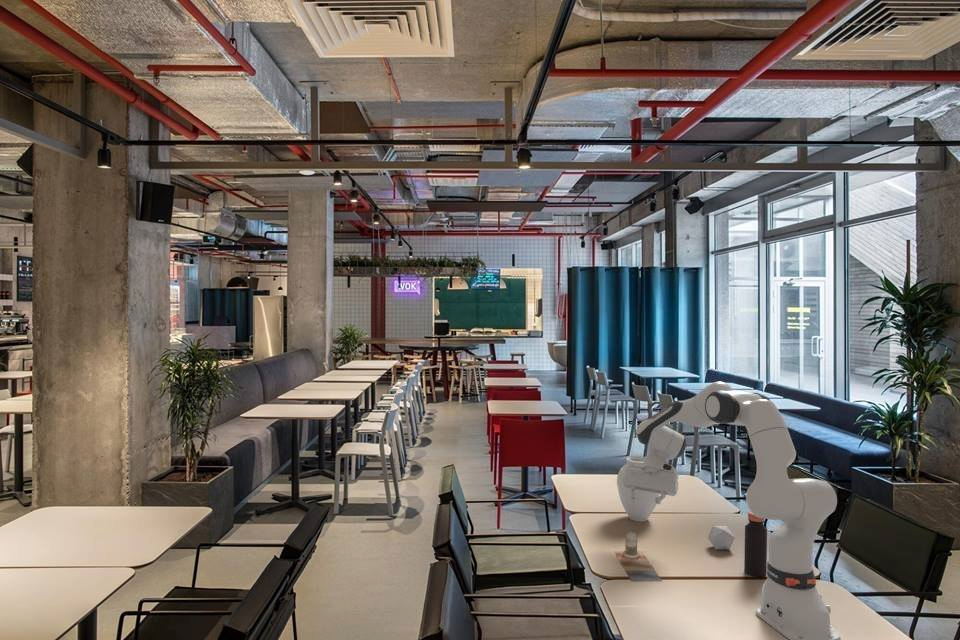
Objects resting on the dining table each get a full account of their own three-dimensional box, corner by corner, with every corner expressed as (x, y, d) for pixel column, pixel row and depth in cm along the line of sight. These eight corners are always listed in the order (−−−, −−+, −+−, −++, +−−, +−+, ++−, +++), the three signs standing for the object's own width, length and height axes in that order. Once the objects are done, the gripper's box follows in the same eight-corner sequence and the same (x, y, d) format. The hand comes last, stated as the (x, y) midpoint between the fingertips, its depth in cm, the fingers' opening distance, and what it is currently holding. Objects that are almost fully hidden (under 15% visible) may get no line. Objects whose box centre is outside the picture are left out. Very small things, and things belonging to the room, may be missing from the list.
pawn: (641, 559, 215) (641, 534, 215) (625, 559, 215) (625, 534, 214) (637, 552, 220) (637, 528, 220) (621, 552, 220) (621, 528, 220)
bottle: (739, 570, 207) (740, 510, 206) (755, 567, 209) (756, 508, 209) (755, 578, 201) (756, 517, 200) (771, 575, 203) (772, 515, 203)
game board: (662, 582, 198) (662, 581, 198) (631, 582, 198) (631, 581, 198) (642, 552, 222) (642, 551, 222) (614, 552, 222) (614, 551, 222)
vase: (643, 509, 268) (644, 452, 268) (669, 523, 252) (670, 462, 251) (608, 514, 262) (608, 455, 261) (633, 528, 245) (633, 465, 245)
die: (731, 556, 220) (741, 532, 223) (709, 543, 221) (720, 519, 224) (722, 555, 228) (732, 532, 230) (700, 542, 229) (711, 519, 232)
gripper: (626, 460, 239) (615, 491, 231) (678, 468, 227) (670, 501, 219) (630, 469, 243) (620, 500, 235) (682, 477, 231) (674, 510, 223)
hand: (644, 500), depth 227 cm, fingers open, 8 cm apart
